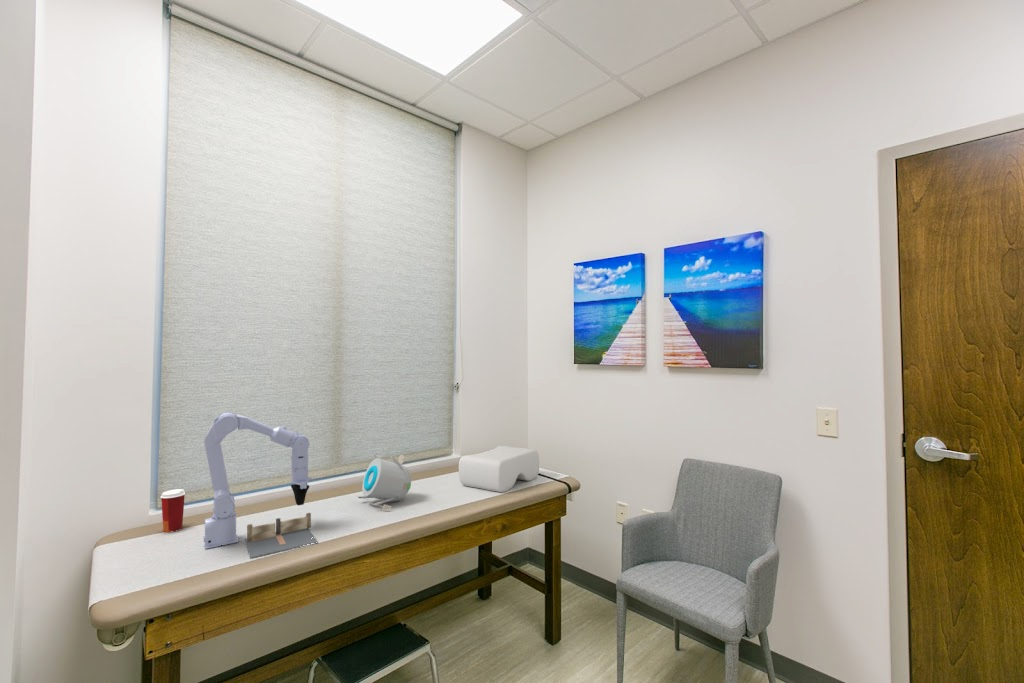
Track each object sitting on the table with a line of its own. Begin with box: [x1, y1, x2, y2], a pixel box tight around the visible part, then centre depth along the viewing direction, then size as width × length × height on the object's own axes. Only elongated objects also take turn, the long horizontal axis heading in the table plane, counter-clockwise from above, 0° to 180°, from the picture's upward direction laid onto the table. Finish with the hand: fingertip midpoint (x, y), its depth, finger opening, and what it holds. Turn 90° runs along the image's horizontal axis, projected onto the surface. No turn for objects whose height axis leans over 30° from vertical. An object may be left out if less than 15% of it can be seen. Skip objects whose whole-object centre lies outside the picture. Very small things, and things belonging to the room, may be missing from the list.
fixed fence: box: [246, 522, 276, 542], centre depth 160 cm, size 9×2×5 cm, turn 125°
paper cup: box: [159, 488, 186, 533], centre depth 171 cm, size 8×8×14 cm
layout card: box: [244, 528, 319, 560], centre depth 158 cm, size 20×19×1 cm
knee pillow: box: [458, 445, 540, 493], centre depth 229 cm, size 35×25×15 cm
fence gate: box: [275, 512, 312, 535], centre depth 166 cm, size 12×2×5 cm, turn 125°
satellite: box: [358, 452, 412, 512], centre depth 200 cm, size 23×20×25 cm
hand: (299, 504), depth 171 cm, fingers closed
